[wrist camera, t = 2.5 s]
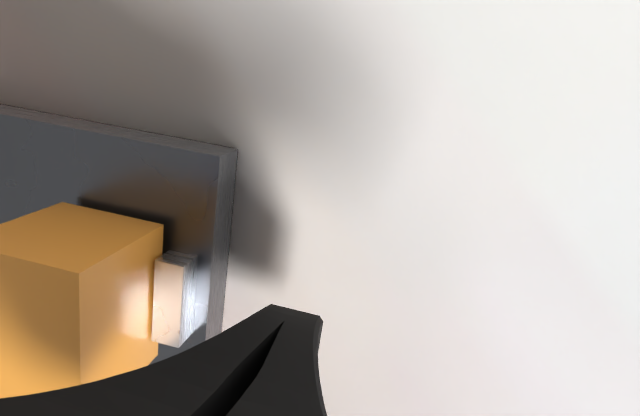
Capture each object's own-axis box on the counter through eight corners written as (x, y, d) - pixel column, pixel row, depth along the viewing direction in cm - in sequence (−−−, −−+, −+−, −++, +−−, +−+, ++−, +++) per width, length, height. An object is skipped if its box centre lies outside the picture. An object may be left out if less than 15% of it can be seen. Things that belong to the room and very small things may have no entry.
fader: (157, 354, 14) (81, 435, 11) (65, 329, 14) (-33, 399, 11) (163, 224, 12) (79, 273, 9) (62, 202, 13) (-49, 241, 10)
